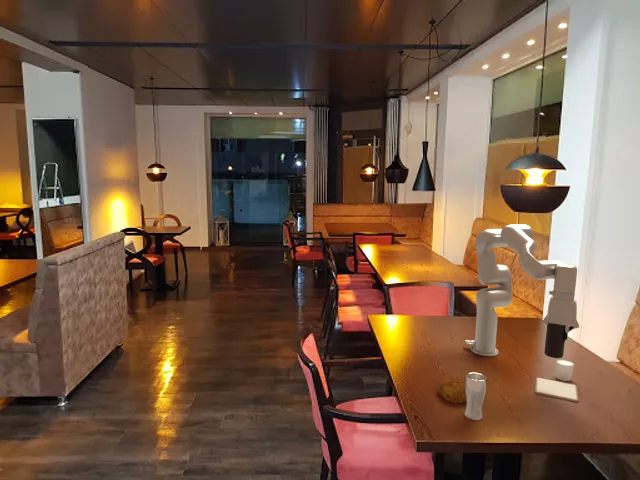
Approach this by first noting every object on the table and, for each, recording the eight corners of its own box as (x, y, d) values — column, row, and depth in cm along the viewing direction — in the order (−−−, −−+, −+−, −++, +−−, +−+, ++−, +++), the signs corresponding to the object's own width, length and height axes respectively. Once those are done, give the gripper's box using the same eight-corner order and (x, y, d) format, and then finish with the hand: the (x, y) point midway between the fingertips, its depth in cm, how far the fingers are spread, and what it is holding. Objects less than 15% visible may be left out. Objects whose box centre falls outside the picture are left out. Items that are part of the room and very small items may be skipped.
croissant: (483, 403, 183) (487, 384, 182) (456, 408, 174) (460, 387, 174) (455, 387, 195) (458, 369, 194) (428, 391, 186) (431, 372, 186)
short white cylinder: (571, 376, 204) (572, 360, 203) (573, 382, 197) (575, 366, 196) (553, 373, 206) (555, 358, 205) (555, 380, 200) (557, 364, 198)
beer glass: (460, 411, 172) (462, 372, 170) (478, 410, 173) (481, 372, 170) (467, 421, 165) (470, 380, 163) (486, 420, 166) (490, 380, 164)
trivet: (534, 393, 187) (535, 391, 187) (535, 378, 200) (536, 376, 200) (578, 402, 180) (578, 400, 180) (576, 386, 194) (576, 384, 194)
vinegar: (551, 359, 186) (556, 309, 183) (540, 352, 192) (545, 304, 189) (566, 358, 187) (572, 309, 184) (555, 351, 193) (560, 304, 190)
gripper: (540, 294, 185) (536, 339, 188) (587, 300, 178) (582, 347, 180) (541, 290, 191) (536, 334, 194) (586, 296, 184) (581, 341, 187)
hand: (559, 340), depth 187 cm, fingers closed on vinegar, 2 cm apart
